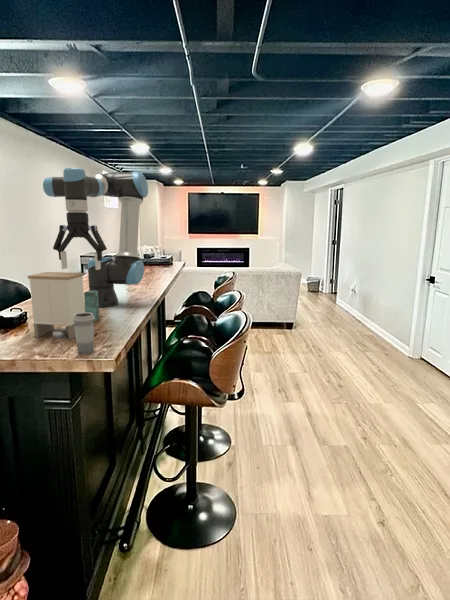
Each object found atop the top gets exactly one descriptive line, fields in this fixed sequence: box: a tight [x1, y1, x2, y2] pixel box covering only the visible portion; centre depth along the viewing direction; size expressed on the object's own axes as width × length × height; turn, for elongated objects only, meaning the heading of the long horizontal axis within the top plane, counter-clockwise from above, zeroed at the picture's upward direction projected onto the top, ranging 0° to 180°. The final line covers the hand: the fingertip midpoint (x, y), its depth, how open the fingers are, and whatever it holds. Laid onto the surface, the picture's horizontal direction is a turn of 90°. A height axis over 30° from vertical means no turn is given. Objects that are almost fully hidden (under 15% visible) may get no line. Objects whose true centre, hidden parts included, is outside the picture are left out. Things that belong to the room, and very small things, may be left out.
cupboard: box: [27, 271, 85, 340], centre depth 139 cm, size 11×15×22 cm
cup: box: [72, 312, 95, 355], centre depth 122 cm, size 7×7×12 cm
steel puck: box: [51, 327, 68, 340], centre depth 139 cm, size 5×5×2 cm
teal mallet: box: [65, 290, 100, 332], centre depth 154 cm, size 20×4×12 cm, turn 172°
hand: (81, 269), depth 148 cm, fingers open, 13 cm apart
